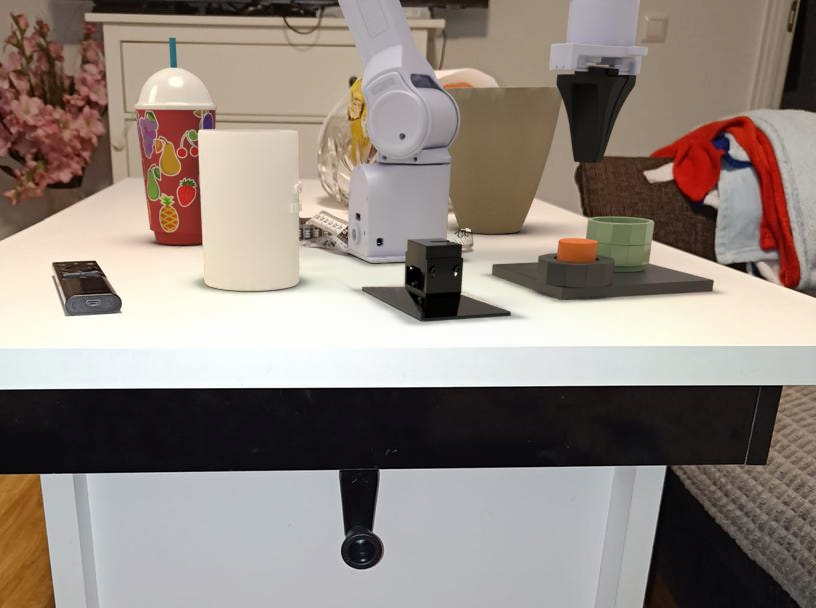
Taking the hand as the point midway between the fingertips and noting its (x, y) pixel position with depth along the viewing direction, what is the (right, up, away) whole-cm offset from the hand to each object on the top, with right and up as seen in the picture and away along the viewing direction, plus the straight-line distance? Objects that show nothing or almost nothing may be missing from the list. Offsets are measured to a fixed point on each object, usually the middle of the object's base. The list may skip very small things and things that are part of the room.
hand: (587, 162), depth 82 cm
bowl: (+2, -10, -2) cm, 10 cm away
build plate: (-15, -15, -12) cm, 24 cm away
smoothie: (-39, -3, +18) cm, 43 cm away
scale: (0, -11, -3) cm, 12 cm away
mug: (-30, -11, -2) cm, 32 cm away
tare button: (-3, -11, -9) cm, 14 cm away
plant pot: (-4, +2, +30) cm, 30 cm away
